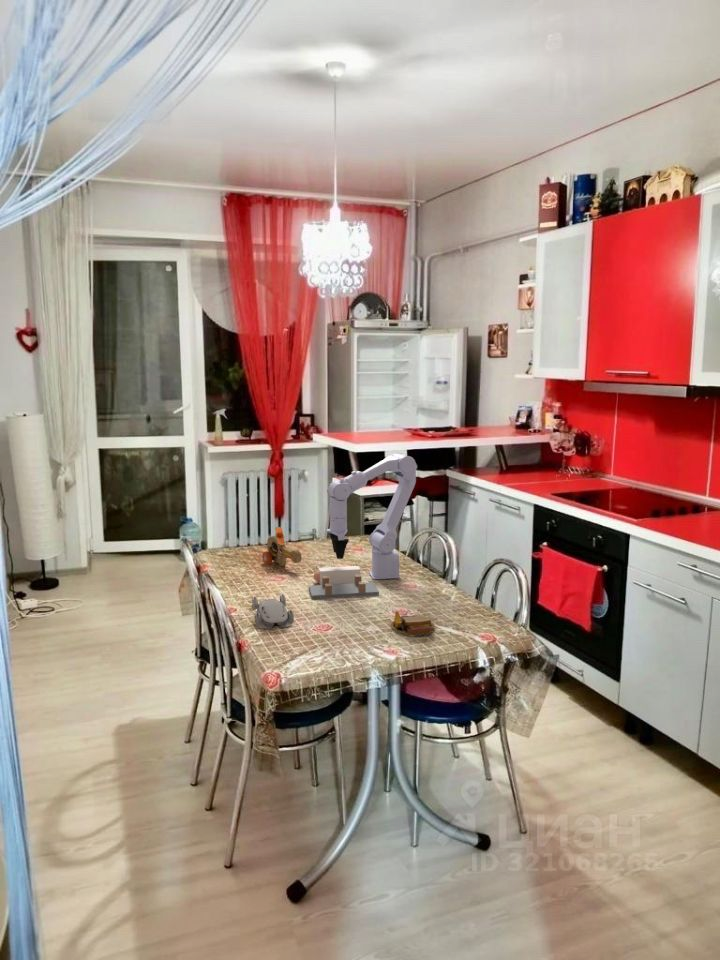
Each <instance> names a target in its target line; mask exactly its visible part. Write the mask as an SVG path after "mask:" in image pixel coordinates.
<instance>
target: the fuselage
mask: <svg viewBox="0 0 720 960" xmlns="http://www.w3.org/2000/svg"><path fill="white" fill-rule="evenodd" d="M356 574H360V575H361V568H360V566H359V565H353V566H351V565H350V566H349V565H348V566H330V567H328V566H327V567H318V570H317V571H315V572H314V574H313V579H314V581H315V582H316V583H318V584H319V585H322V576H328V577H329V584H330V583H331V585H332V584H351V583H355V578H354V575H356Z"/></svg>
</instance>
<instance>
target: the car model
mask: <svg viewBox="0 0 720 960" xmlns="http://www.w3.org/2000/svg"><path fill="white" fill-rule="evenodd" d="M251 600H252V601H251V602H252V607H253V609H254V610H255V609H257V611H256V613H254V624H255V623H256V624H255V626H256V627H258V628H259V629H262V630H271V629H274V628H277V627H278V628H280V629H285V628H290V627H291V626H292V625H293V623H294V621H295V618H294V617H295V616H294V614H295V613H294V611H293V609H289V610H287V608H286V607H285V606H286V603H287V602H286V601H287V600H286V595H285V594H283V593H282V594H280V595H279V600H277V599H274V598H268V599H264V600H262V601H260V602H258V596H252V598H251Z"/></svg>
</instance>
